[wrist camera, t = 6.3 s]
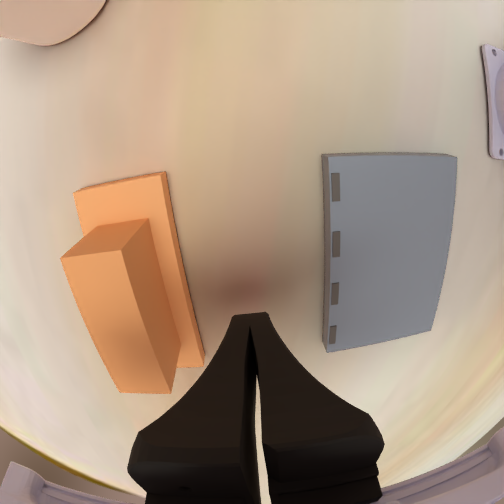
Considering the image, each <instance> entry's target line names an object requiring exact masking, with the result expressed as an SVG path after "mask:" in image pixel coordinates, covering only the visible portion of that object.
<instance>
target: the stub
mask: <svg viewBox="0 0 504 504" xmlns="http://www.w3.org/2000/svg"><path fill="white" fill-rule="evenodd" d="M73 195H74V199H75V204H76V208H77V212H78V216H79V220H80V224H81V228H82V231H83V235H84V237H83V238H82V239H81V240H80V241H79V242H78V243H77V244H75V245H74V246H73V247H72V248H71V249H70V250H69V251H67V252H66V253H65V254H64V255H63V256H62V257H61V258H60V259H61V262H62V265H63V268H64V271H65V274H66V277H67V279H68V282H69V285H70V288H71V290H72V293H73V295H74V298H75V301H76V303H77V305H78V308H79V310H80V313H81V315H82V317H83V320H84V322H85V324H86V327H87V329H88V331H89V333H90V336H91V338H92V340H93V342H94V344H95V346H96V348H97V350H98V352H99V354H100V356H101V358H102V360H103V362H104V364H105V366H106V368H107V370H108V372H109V374H110V376H111V378H112V379H113V381H114V383H115V385H116V387H117V389H118V390H119V392H121V393H152V394H171V392H172V387H173V382H174V377H175V372H176V368H182V367H203V366H204V358H205V354H204V350H203V346H202V343H201V339H200V335H199V331H198V327H197V323H196V319H195V315H194V311H193V307H192V302H191V298H190V294H189V289H188V285H187V281H186V276H185V272H184V267H183V262H182V258H181V253H180V248H179V243H178V238H177V233H176V228H175V222H174V217H173V212H172V206H171V200H170V195H169V189H168V183H167V177H166V172H160V173H154V174H148V175H143V176H138V177H132V178H127V179H122V180H117V181H112V182H108V183H103V184H99V185H94V186H90V187H85V188H82V189H80V190H78V191H76V192H74V193H73Z"/></svg>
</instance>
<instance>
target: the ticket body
mask: <svg viewBox="0 0 504 504" xmlns="http://www.w3.org/2000/svg"><path fill="white" fill-rule="evenodd" d="M322 168H323V191H324V228H325V284H324V321H323V344H324V346H325V349H326V352H327V353H329V352H335V351H340V350H346V349H351V348H357V347H362V346H367V345H372V344H376V343H381V342H386V341H390V340H395V339H399V338H403V337H407V336H411V335H415V334H419V333H423V332H427V331H431V328H432V325H433V321H434V317H435V314H436V310H437V306H438V301H439V297H440V293H441V288H442V284H443V279H444V274H445V269H446V263H447V257H448V251H449V245H450V238H451V231H452V223H453V214H454V204H455V192H456V175H457V157H455V156H451V155H447V154H432V153H341V154H322Z"/></svg>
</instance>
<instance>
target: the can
mask: <svg viewBox="0 0 504 504" xmlns="http://www.w3.org/2000/svg"><path fill="white" fill-rule="evenodd" d="M105 1H106V0H0V37H4V38H8V39H13V40H17V41H22V42H26V43H30V44H35V45H40V46H48V45H54V44H57V43H60V42H62V41H64V40H66V39H68V38H70V37H72V36H73V35H75V34H76V33H77V32H79V31H80V30H81V29H83V28H84V27H85V26H86V25H87V24H88V23H89V22H90V21H91V20H92V19H93V18H94V17H95V16H96V15H97V14H98V12H99V11H100V10H101V8H102V6H103V5H104V3H105Z"/></svg>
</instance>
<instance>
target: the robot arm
mask: <svg viewBox="0 0 504 504" xmlns="http://www.w3.org/2000/svg"><path fill="white" fill-rule="evenodd" d="M492 52H493V53H492ZM482 53H483V59H484V66H485V74H486V83H487V93H488V107H489V152H490V156H491V157H492V158H495V159H502V160H504V51H503V50H501V49H499V48H496V47H494V46H492V45H489V44H483V45H482ZM499 150H500V153H499ZM256 377H257V378H258V383H259V389H260V403H261V427H262V445H263V451H264V457H265V463H266V469H267V474H268V486H269V495H270V499H271V504H494V503H496V502H497V501H499V500H500V499H502V498H503V497H504V427H503V428H501V429H500V430H498V431H497V432H496V433H495V434H494V435H493V436H492V437H491V438H490V440H489V441H488V443H487V444H486V445H484V446H482V447H480V448H478V449H476V450H474V451H472V452H471V453H469V454H467V455H465V456H463V457H461V458H458V459H456V460H454V461H452V462H450V463H448V464H445V465H443V466H441V467H439V468H436V469H434V470H432V471H429V472H427V473H424V474H422V475H419V476H416V477H414V478H411V479H408V480H405V481H402V482H400V483H397V484H393V485H390V486H387V487H384V488H380V484H379V481H378V478H377V476H378V474H379V471H378V468H377V464H376V462H377V460H378V458H379V456H380V455H381V453H382V451H383V448H384V441H383V438H382V435H381V433H380V431H379V429H378V427H377V426H376V424H375V422H374V421H373V419H372V418H371V416H370V415H369V414H368V413H366V412H364V411H362V410H360V409H358V408H356V407H354V406H353V405H351V404H349V403H348V402H346V401H345V400H343V399H341V398H340V397H338V396H337V395H336V394H334V393H333V392H332V391H330V390H329V389H328V388H326V387H325V386H324V385H323V384H321V383H320V382H319V381H318V380H317V379H315V378H314V377H313V376H312V375H311V374H310V373H309V372H308V371H307V370H306V369H305V368H304V367H303V366H302V365H301V364H300V363H299V362H298V360H297V359H296V358H295V357H294V356H293V354H292V353H291V352H290V351H289V349H288V348H287V347H286V345H285V344H284V342H283V341H282V339H281V338H280V336H279V335H278V333H277V332H276V330H275V328H274V326H273V324H272V322H271V320H270V317H269V314H268V313H266V312H261V313H251V314H241V315H234V316H233V317H232V319H231V322H230V325H229V328H228V330H227V332H226V334H225V337H224V339H223V341H222V342H221V344H220V346H219V348H218V350H217V352H216V354H215V355H214V357H213V358H212V360H211V362H210V363H209V365H208V366H207V368H206V369H205V371H204V372H203V373H202V375H201V376H200V377H199V379H198V380H197V381H196V382H195V384H194V385H193V386H192V387H191V388H190V389H189V390H188V392H187V393H186V394H185V395H184V396H183V397H182V398H181V399H180V400H179V401H178V402H177V403H176V404H175V405H173V406H172V407H171V408H170V409H169V410H168V411H167V412H166V413H165V414H163V415H162V416H161V417H160V418H158V419H157V420H155V421H154V422H153V423H151V424H150V425H148V426H147V427H145V428H144V429H143V430H141V431H139V432H138V434H137V437H136V439H135V442H134V444H133V447H132V450H131V454H130V459H129V463H128V467H127V470H128V473H129V475H130V476H131V477H132V479H133V480H134V481H135V482H136V483H137V484H139V485H140V486H141V487H142V488H143V489H144V490H145V491H146V492H147V495H146V501H145V504H261V497H260V486H259V474H258V462H257V449H256V435H255V405H256ZM0 504H132V503H127V502H121V501H117V500H111V499H107V498H103V497H99V496H95V495H91V494H87V493H83V492H79V491H76V490H72V489H69V488H66V487H63V486H60V485H57V484H54V483H51V482H48V481H45V480H44V479H43V478H42V477H41V476H40V475H39V474H38V473H36V472H35V471H33V470H31V469H29V468H27V467H25V466H22V465H20V464H17V463H15V462H10V465H9V467H8V469H7V472H6V475H5V477H4V480H3V482H2V485H1V487H0Z"/></svg>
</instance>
